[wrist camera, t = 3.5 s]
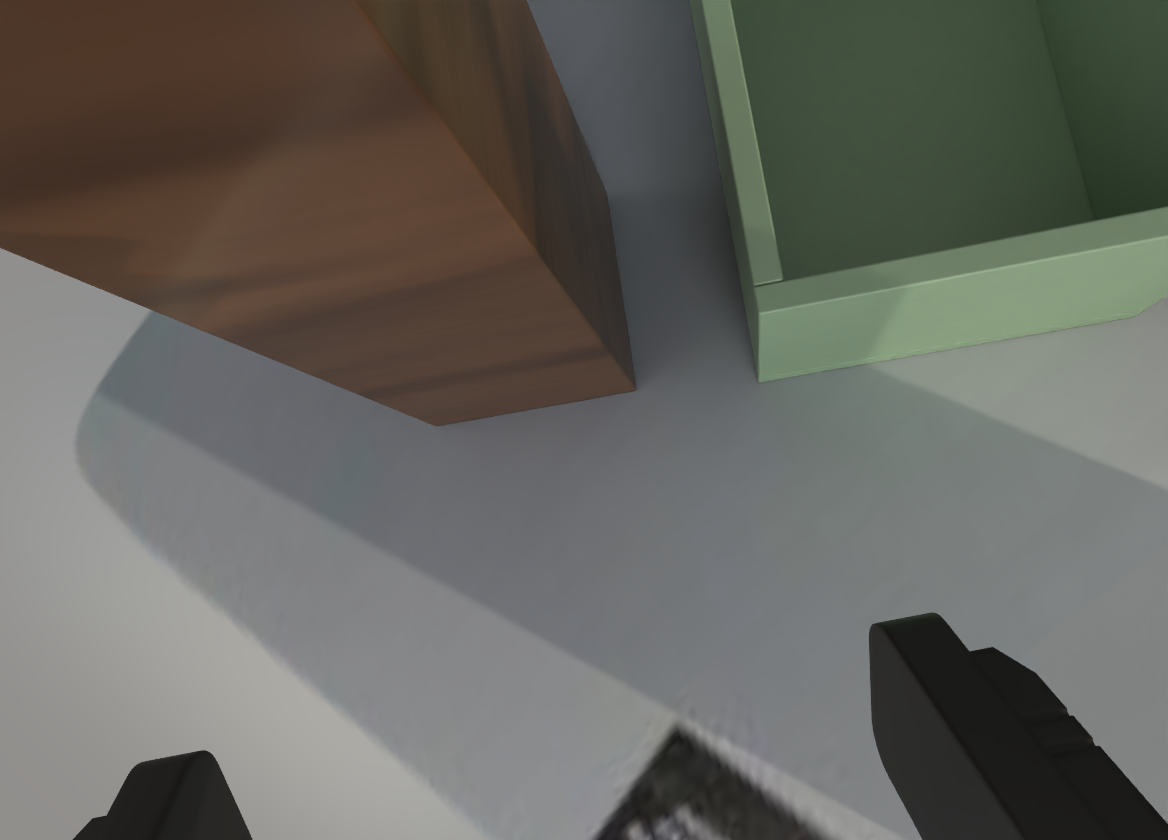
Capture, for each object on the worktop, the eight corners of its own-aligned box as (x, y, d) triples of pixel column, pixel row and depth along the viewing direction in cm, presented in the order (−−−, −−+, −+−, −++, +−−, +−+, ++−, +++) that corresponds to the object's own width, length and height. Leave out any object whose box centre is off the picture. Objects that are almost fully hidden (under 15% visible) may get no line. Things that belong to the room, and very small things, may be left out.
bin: (1135, 317, 28) (1298, 212, 20) (758, 383, 30) (758, 315, 22) (995, -195, 32) (1081, -467, 24) (670, -104, 34) (641, -322, 26)
